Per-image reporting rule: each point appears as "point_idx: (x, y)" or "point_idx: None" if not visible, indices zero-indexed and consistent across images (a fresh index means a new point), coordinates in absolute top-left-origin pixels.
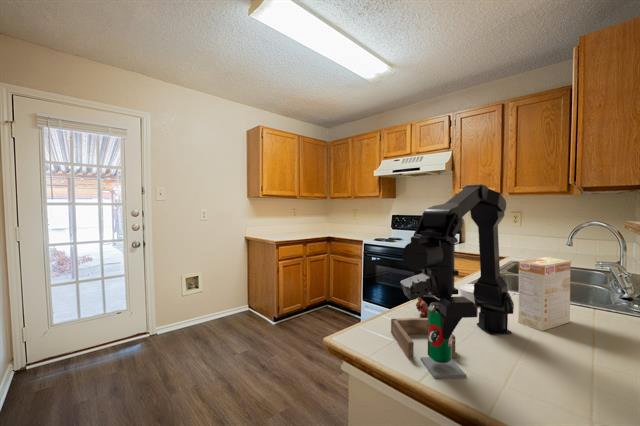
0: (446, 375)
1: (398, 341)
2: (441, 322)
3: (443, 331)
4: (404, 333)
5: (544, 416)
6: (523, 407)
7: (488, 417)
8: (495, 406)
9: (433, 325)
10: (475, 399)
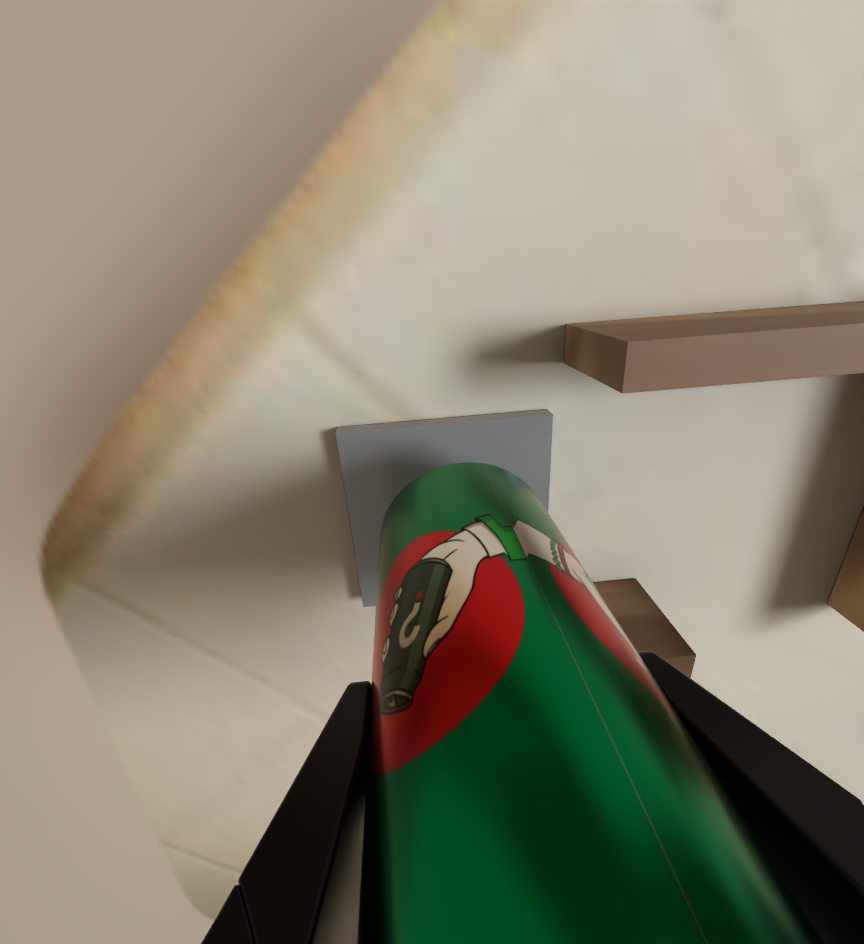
0: (348, 506)
1: (805, 308)
2: (275, 934)
3: (300, 774)
4: (809, 354)
5: (138, 749)
6: (175, 714)
7: (53, 570)
8: (149, 627)
9: (431, 730)
10: (180, 568)
